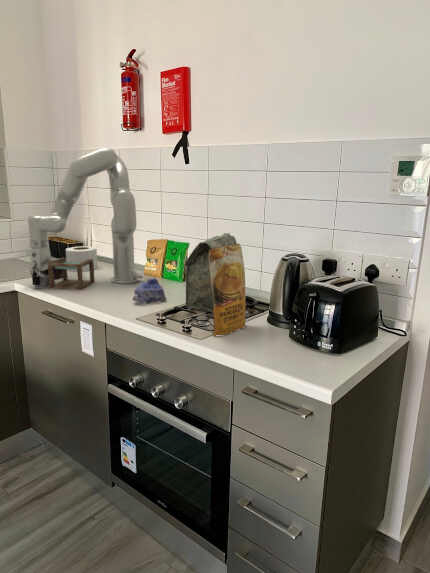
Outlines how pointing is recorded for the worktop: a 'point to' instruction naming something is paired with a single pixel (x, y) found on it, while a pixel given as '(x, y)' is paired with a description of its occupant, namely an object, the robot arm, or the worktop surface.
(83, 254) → the toilet paper roll
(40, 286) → the gray cube
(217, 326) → the pancake mix bag
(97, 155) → the robot arm
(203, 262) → the bag
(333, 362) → the worktop surface
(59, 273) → the rock
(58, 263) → the frame
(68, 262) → the trapdoor
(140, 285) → the mineral
